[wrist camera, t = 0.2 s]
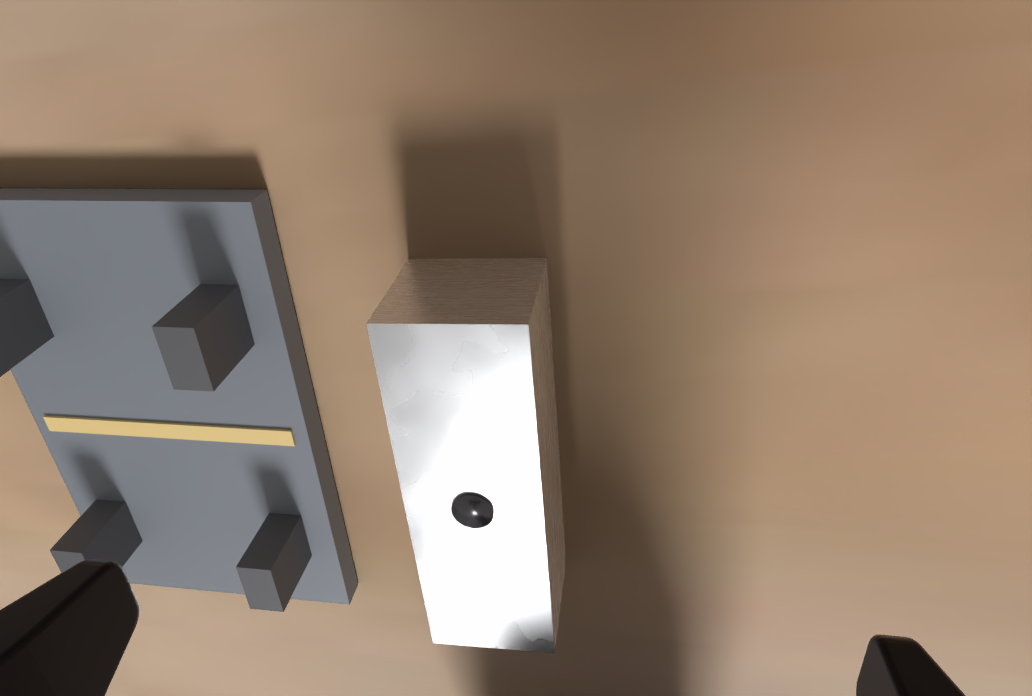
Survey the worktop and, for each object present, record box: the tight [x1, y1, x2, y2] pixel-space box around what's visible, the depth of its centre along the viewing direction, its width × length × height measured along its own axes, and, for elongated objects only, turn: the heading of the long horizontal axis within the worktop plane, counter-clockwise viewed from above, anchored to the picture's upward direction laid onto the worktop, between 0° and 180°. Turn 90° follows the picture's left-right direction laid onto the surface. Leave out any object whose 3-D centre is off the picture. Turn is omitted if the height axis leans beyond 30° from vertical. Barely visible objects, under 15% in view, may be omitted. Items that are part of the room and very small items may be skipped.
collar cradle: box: [0, 188, 358, 612], centre depth 24 cm, size 16×10×4 cm, turn 3°
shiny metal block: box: [366, 258, 566, 653], centre depth 22 cm, size 12×4×4 cm, turn 5°
